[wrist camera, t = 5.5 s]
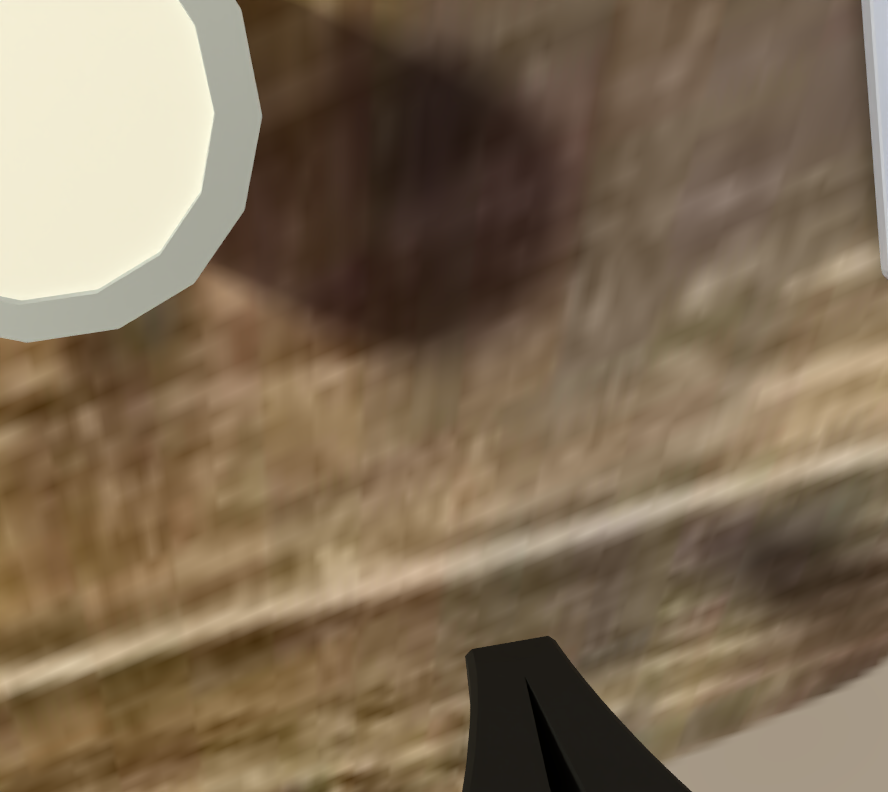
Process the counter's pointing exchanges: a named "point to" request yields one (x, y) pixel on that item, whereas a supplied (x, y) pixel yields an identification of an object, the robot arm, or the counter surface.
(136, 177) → the white cup
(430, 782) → the counter surface
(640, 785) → the robot arm
